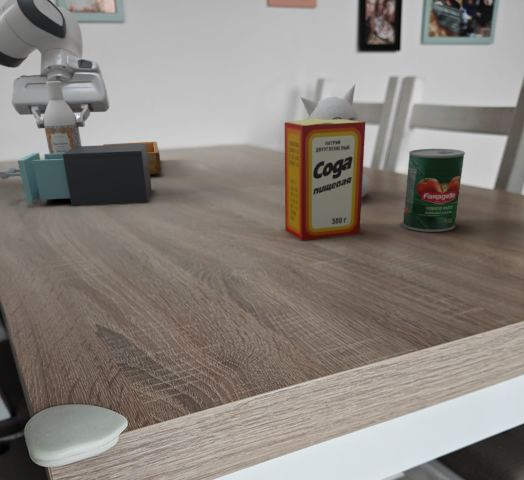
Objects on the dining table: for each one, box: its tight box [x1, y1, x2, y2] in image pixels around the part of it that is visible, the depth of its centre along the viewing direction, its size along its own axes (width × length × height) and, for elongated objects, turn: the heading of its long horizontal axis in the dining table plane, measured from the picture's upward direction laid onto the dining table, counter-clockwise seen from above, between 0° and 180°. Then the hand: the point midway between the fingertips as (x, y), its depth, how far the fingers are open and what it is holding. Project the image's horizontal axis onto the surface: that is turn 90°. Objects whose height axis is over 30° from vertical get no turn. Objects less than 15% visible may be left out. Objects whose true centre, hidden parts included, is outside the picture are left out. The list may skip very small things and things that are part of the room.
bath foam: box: [43, 81, 82, 154], centre depth 120 cm, size 7×7×20 cm
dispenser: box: [63, 144, 152, 207], centre depth 112 cm, size 15×13×10 cm
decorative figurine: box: [300, 83, 371, 198], centre depth 103 cm, size 15×15×20 cm
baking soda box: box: [284, 118, 366, 241], centre depth 81 cm, size 10×6×16 cm
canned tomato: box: [402, 148, 466, 233], centre depth 84 cm, size 8×8×11 cm
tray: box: [103, 141, 162, 175], centre depth 147 cm, size 31×15×6 cm, turn 11°
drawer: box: [0, 152, 70, 204], centre depth 111 cm, size 18×11×8 cm, turn 96°
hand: (60, 125), depth 119 cm, fingers closed on bath foam, 7 cm apart
